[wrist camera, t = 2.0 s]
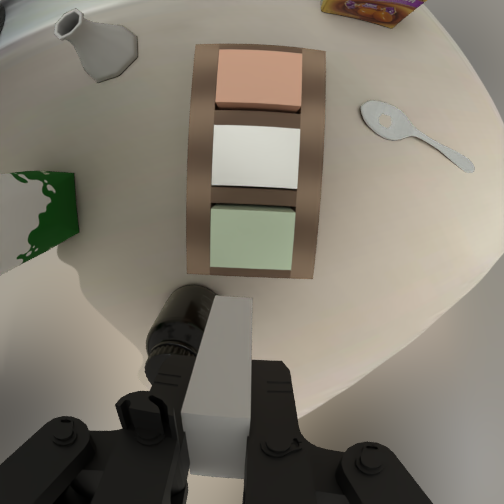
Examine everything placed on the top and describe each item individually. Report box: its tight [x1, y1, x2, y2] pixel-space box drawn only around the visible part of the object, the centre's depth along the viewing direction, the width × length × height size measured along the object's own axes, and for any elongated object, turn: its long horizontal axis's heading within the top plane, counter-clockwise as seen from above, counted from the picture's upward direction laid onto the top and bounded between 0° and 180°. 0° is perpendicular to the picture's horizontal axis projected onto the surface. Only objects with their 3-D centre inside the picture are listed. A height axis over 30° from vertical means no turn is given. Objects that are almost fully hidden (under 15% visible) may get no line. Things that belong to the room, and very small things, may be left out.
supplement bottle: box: [145, 285, 216, 385], centre depth 28 cm, size 7×7×12 cm
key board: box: [186, 44, 326, 279], centre depth 27 cm, size 22×12×4 cm, turn 177°
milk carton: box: [0, 171, 79, 275], centre depth 21 cm, size 9×9×20 cm
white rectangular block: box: [212, 125, 300, 189], centre depth 25 cm, size 5×7×4 cm
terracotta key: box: [215, 49, 302, 114], centre depth 23 cm, size 5×7×4 cm
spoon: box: [361, 100, 475, 173], centre depth 28 cm, size 4×21×2 cm, turn 74°
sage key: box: [210, 204, 296, 270], centre depth 27 cm, size 5×7×4 cm
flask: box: [54, 8, 138, 83], centre depth 21 cm, size 7×7×10 cm
